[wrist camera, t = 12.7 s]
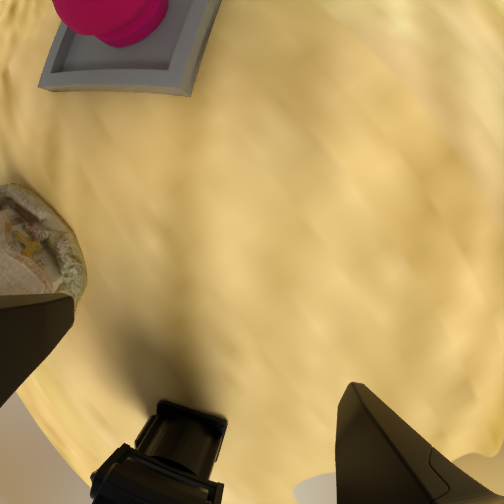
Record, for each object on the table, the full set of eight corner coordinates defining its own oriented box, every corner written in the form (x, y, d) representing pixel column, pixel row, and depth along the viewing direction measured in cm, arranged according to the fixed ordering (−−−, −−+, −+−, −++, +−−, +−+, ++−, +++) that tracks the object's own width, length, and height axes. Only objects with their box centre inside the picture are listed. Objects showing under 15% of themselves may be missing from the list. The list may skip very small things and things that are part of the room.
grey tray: (238, -42, 16) (233, -57, 14) (190, 96, 19) (179, 87, 17) (103, -29, 17) (92, -39, 15) (53, 91, 21) (37, 87, 18)
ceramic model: (111, 275, 23) (25, 321, 13) (60, 344, 26) (-4, 392, 16) (27, 163, 22) (-56, 165, 13) (-9, 244, 25) (-77, 264, 15)
